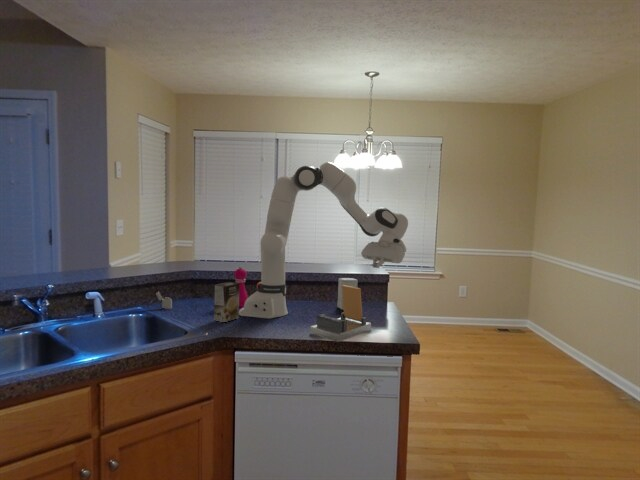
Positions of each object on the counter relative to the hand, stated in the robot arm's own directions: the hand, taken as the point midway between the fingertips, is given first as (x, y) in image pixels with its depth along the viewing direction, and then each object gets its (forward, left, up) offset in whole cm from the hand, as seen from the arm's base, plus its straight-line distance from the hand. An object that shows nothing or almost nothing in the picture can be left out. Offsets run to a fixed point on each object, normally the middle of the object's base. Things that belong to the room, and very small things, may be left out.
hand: (375, 266), depth 194 cm
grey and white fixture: (-14, -18, -25) cm, 34 cm away
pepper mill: (-64, +18, -25) cm, 71 cm away
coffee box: (-64, -8, -25) cm, 69 cm away
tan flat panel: (-10, -13, -14) cm, 22 cm away
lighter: (-98, +7, -25) cm, 102 cm away
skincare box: (-11, +22, -25) cm, 35 cm away
